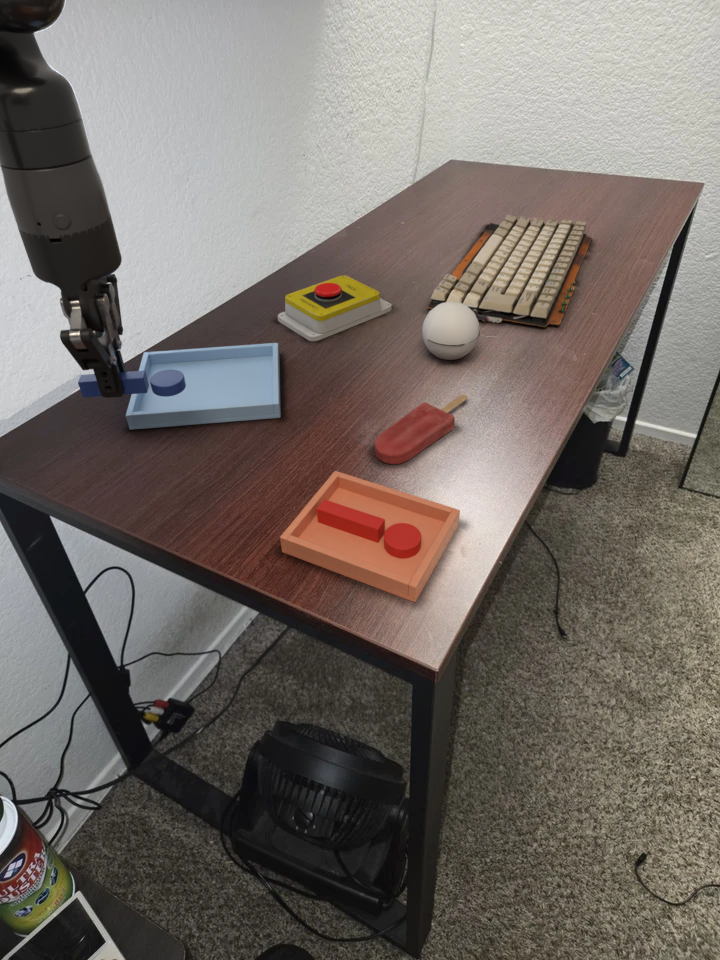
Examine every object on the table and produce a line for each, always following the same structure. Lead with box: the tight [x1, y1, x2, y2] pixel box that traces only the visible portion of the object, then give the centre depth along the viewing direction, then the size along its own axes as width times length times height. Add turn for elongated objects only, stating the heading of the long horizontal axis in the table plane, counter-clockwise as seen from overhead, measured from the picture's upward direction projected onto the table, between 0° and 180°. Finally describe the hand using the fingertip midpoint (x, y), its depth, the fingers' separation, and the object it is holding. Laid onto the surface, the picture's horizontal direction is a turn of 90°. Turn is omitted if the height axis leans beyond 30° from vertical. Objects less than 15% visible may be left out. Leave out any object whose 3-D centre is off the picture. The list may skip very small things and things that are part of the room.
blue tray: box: [125, 342, 282, 431], centre depth 81 cm, size 17×14×2 cm
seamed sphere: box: [421, 302, 499, 361], centre depth 84 cm, size 10×7×7 cm
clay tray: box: [279, 470, 461, 603], centre depth 61 cm, size 13×10×2 cm
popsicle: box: [374, 394, 468, 465], centre depth 74 cm, size 4×2×15 cm
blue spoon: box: [77, 369, 186, 398], centre depth 66 cm, size 10×3×2 cm, turn 96°
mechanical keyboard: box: [426, 213, 593, 328], centre depth 105 cm, size 38×19×3 cm, turn 158°
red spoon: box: [317, 499, 421, 559], centre depth 61 cm, size 10×3×2 cm, turn 63°
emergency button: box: [277, 274, 393, 342], centre depth 95 cm, size 9×4×15 cm
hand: (115, 389), depth 67 cm, fingers closed on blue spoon, 1 cm apart
